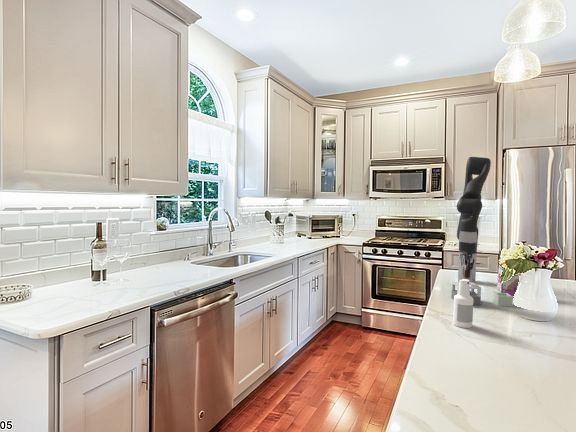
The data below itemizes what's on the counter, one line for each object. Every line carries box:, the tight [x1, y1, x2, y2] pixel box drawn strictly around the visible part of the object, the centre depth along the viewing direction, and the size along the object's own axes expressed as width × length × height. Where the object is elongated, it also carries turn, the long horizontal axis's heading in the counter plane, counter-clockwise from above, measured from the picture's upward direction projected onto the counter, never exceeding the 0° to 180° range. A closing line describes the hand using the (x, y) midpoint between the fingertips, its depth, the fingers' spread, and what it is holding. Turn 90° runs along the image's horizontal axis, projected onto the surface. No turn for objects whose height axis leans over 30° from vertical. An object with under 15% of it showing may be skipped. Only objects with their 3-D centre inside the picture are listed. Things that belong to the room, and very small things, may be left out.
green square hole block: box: [492, 291, 514, 307], centre depth 166 cm, size 6×6×5 cm
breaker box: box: [450, 280, 482, 306], centre depth 170 cm, size 10×10×8 cm
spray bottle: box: [452, 279, 474, 329], centre depth 139 cm, size 7×7×18 cm
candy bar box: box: [496, 264, 519, 296], centre depth 180 cm, size 11×5×16 cm, turn 84°
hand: (466, 276), depth 170 cm, fingers closed on walnut dowel, 2 cm apart
